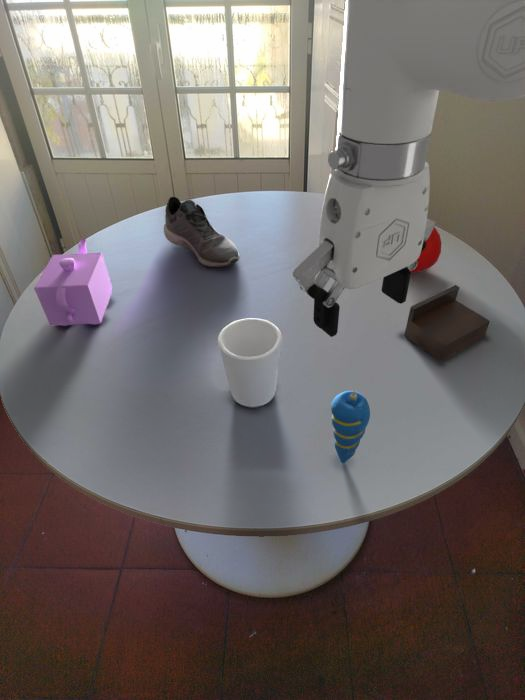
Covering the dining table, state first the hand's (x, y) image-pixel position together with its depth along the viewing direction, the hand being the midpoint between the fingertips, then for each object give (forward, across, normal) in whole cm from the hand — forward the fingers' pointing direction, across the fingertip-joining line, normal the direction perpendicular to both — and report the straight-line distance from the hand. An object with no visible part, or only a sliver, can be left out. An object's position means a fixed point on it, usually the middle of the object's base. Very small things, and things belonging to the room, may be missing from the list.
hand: (360, 312), depth 51 cm
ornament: (+28, 0, 0) cm, 28 cm away
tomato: (+28, +46, +32) cm, 63 cm away
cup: (+28, -4, +19) cm, 34 cm away
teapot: (+28, -20, +60) cm, 69 cm away
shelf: (+28, +34, +11) cm, 46 cm away
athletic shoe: (+28, +12, +67) cm, 73 cm away
